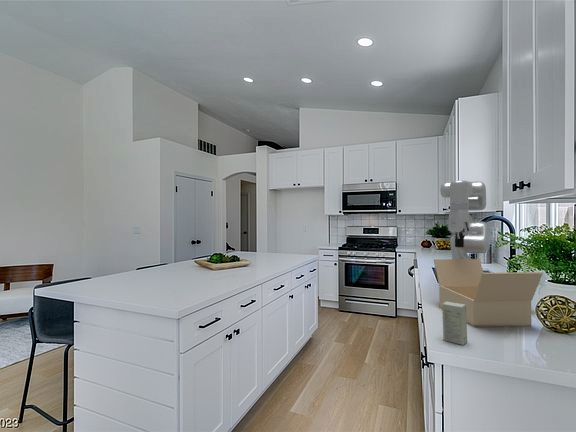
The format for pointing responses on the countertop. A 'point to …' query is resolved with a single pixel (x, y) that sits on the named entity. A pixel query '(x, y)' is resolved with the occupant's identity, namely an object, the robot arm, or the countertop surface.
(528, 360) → the countertop surface
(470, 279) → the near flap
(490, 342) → the countertop surface
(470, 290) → the carton
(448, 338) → the skincare box
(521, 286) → the outer flap
